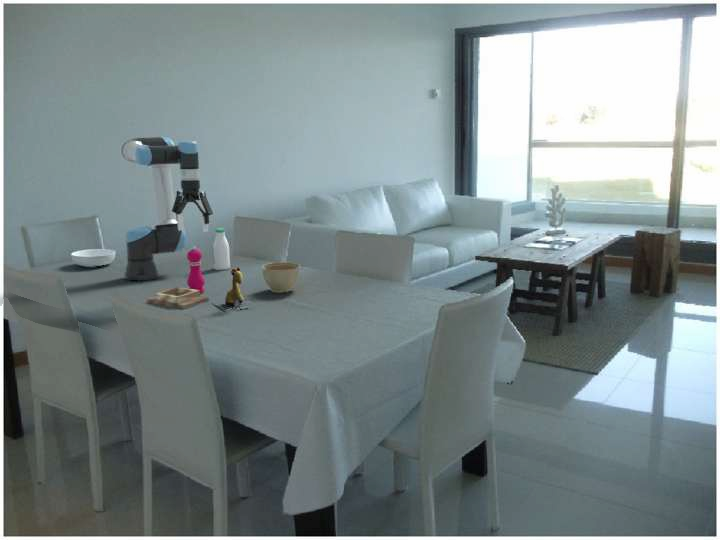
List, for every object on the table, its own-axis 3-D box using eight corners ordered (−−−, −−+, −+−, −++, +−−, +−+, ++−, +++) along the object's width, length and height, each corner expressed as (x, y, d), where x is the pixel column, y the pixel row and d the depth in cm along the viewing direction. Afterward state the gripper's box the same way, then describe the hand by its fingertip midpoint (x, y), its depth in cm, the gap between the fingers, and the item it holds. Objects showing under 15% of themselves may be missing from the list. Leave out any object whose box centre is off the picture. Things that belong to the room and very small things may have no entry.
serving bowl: (107, 270, 333) (106, 256, 331) (65, 270, 333) (63, 256, 332) (122, 261, 353) (121, 248, 352) (82, 261, 353) (81, 248, 352)
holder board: (147, 302, 273) (146, 292, 272) (172, 294, 284) (171, 285, 284) (184, 308, 263) (183, 298, 262) (208, 300, 275) (208, 291, 274)
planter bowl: (255, 291, 291) (254, 266, 288) (283, 284, 302) (283, 260, 300) (279, 297, 280) (278, 271, 278) (308, 290, 291) (307, 265, 289)
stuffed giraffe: (226, 312, 258) (225, 271, 255) (209, 304, 273) (208, 265, 270) (264, 308, 266) (264, 268, 264) (246, 300, 281) (245, 262, 279)
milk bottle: (233, 268, 336) (231, 228, 332) (222, 271, 329) (220, 230, 325) (221, 266, 340) (219, 227, 336) (210, 269, 333) (208, 229, 329)
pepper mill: (200, 294, 284) (198, 248, 280) (184, 294, 286) (182, 247, 281) (208, 290, 291) (205, 245, 287) (192, 290, 293) (189, 244, 288)
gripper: (161, 179, 281) (164, 229, 285) (207, 181, 269) (209, 234, 273) (174, 177, 287) (177, 227, 292) (219, 179, 275) (222, 231, 280)
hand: (193, 230), depth 283 cm, fingers open, 13 cm apart
